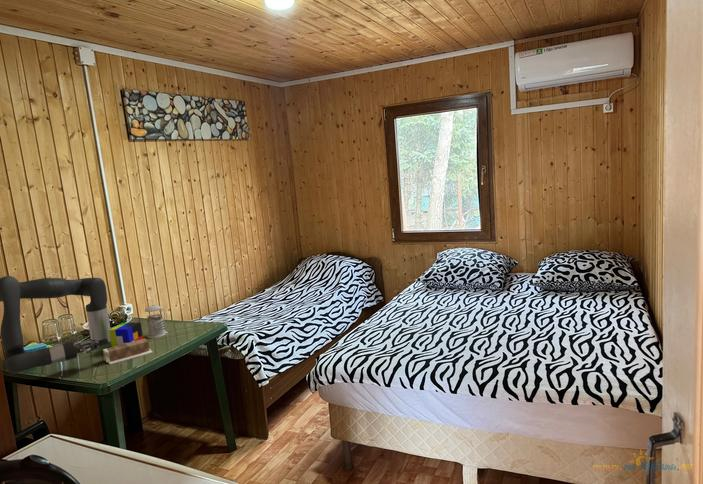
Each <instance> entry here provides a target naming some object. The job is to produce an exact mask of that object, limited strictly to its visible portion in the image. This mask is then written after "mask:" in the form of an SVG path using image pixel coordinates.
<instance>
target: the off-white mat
mask: <svg viewBox="0 0 703 484" xmlns="http://www.w3.org/2000/svg"><path fill="white" fill-rule="evenodd" d="M149 350H150V351H147V352H143V353H140V354H136V355H132V356H129V357H125V358H122V359H118V360H115V361H111V362H107V363H108V365H110V366H111V365H114V364H118V363H122V362H126V361H128V360H132V359H135V358H139V357H142V356H143V357H144V356H147V355H150V354H153V351H152V349H151V348H150V347H149Z"/></svg>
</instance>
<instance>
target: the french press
mask: <svg viewBox="0 0 703 484" xmlns="http://www.w3.org/2000/svg"><path fill="white" fill-rule="evenodd" d="M147 289H148V290H149V291H150V294H152V291H151V290H153V287H151V286H150V287H147ZM152 298H153V297H152V295H150V299H151V300H153V299H152ZM156 311H159V312H160V313H158V314H157V313H156V314H155V313H154V312H156ZM144 312H146V313H152V312H153V314H151V315H149V316H147V317H146V324H147V330H148V334H147V336H146V337H147V338H149V339H153V338H160V337H163V336H165V335H167V334H168V331H166V329H165V322H166V321H167V319H168V314H167V311H166V309H163V307H162V306H161V305H154V304H153V301H151V305H149V306H148V307H146V308H145V309H144ZM161 312H163V314H164V315H163V316H162V314H161ZM166 333H167V334H166Z"/></svg>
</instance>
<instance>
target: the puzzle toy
mask: <svg viewBox="0 0 703 484" xmlns="http://www.w3.org/2000/svg"><path fill="white" fill-rule="evenodd" d="M110 328H111V327H110ZM109 334H110V340H111V342H110V345H111V347H114V346H118V345H122V344H126V343H130V342H133V341H137V340H141V339H144V336H143V335H144V334H143V328H142V323H141V322H139V321H138V322H122V323H120V324H118V325H116V326H114V327H112V328H111V329H109Z"/></svg>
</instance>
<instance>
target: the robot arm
mask: <svg viewBox="0 0 703 484" xmlns="http://www.w3.org/2000/svg"><path fill="white" fill-rule="evenodd" d="M67 296H83V297H89V299H90V301H89V303H87V304H86V305H85V313H86V318H87V322H88V327H89V334H90V339H87V340H86V339H85V340H82V341H80V342H79V343H75V341H74V340H70V341H66V342H62V343H58V344H54V345H51V346H49V347H45V348H41V349H37V350H35V351H30V352H29V351H28V352H25V348H24V338H23V333H22V332H23V331H22V325H21V300H22V299H24V300H25V299H27V300H28V299H35V300H38V299H39V300H40V299H46V300H47V299H57V298H58V299H59V298H64V297H67ZM2 302H3V303H2ZM0 303H2V304H3V315H2V320H1V324H0V338H1V344H2V348H3V351H4V356H5V364H4V366H5V369H6V370H7V372H10V373H12V374H19V373H21V372H23V371H26V370H30V369H33V368H39V367H45V366H48V365H52V364H57V363H63V362H65V361H66V362H67V361H70V360H75V359H77V357H78V354H81V353H82V354H85V353H86V354H89V353H91V352H93V351H95V350H97V349H98V348H99V347H101V346H105V345H108V344H109V343H111V340H110V334H109V329H111V322H110V318H109V312H108V308H107V307H108V306H107V304H108V294H107V285H106V282H105V281H104V279H103V278H101V277H84V278H77V279H67V278H60V277H59V278H58V277H42V278H38V279H37V278H36V279H32V280H31V279H30V280H26V281H21V282H20V281H19V280H18V279H17V278H16V277H14V276H11V275H5V276H2V277H0Z"/></svg>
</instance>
